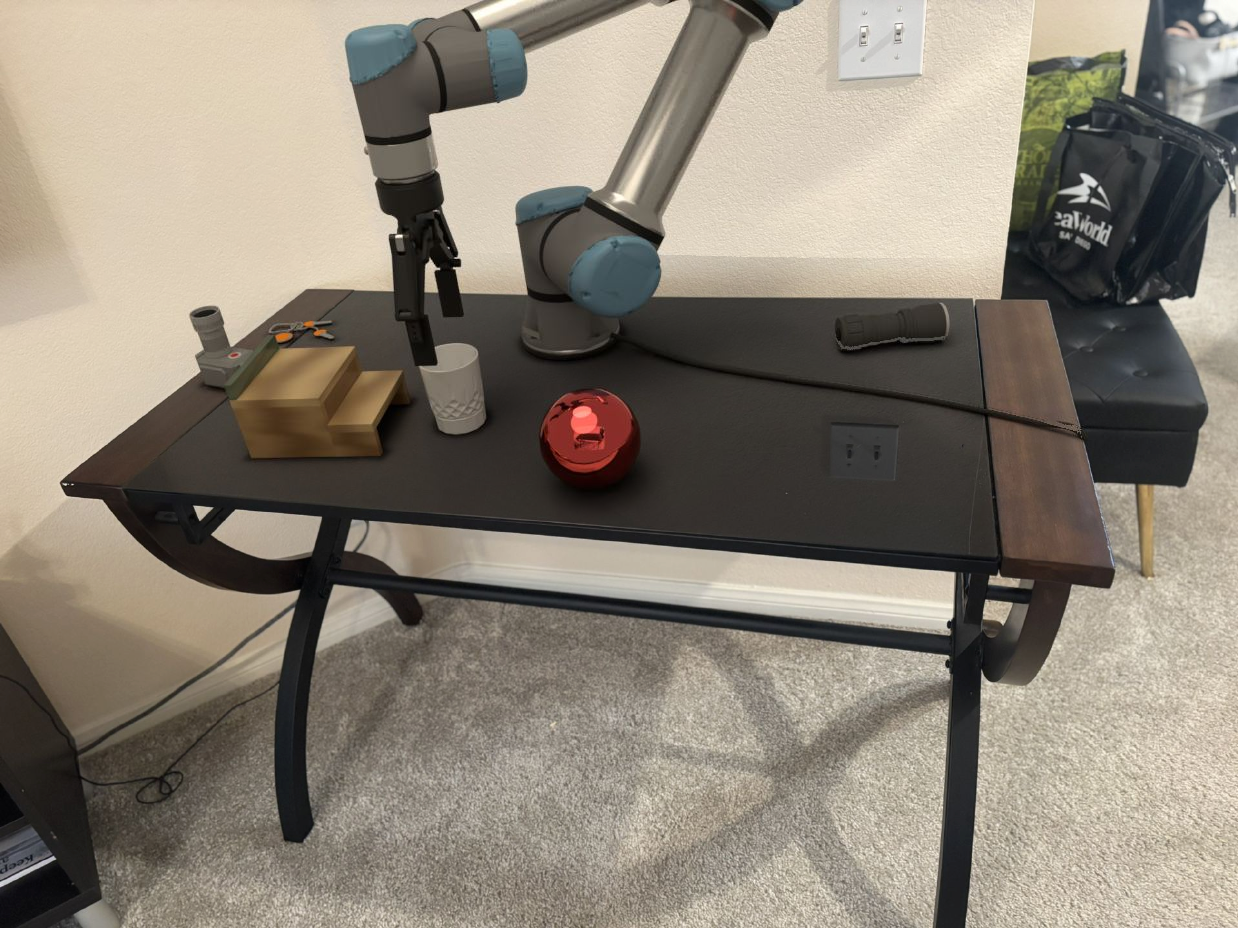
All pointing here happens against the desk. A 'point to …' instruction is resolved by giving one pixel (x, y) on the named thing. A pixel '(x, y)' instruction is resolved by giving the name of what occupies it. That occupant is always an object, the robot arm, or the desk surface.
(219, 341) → the camera
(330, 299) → the desk surface
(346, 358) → the shelf stand
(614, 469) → the ball
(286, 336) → the key chain
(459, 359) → the white cup
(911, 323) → the flashlight
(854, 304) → the desk surface
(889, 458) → the desk surface
